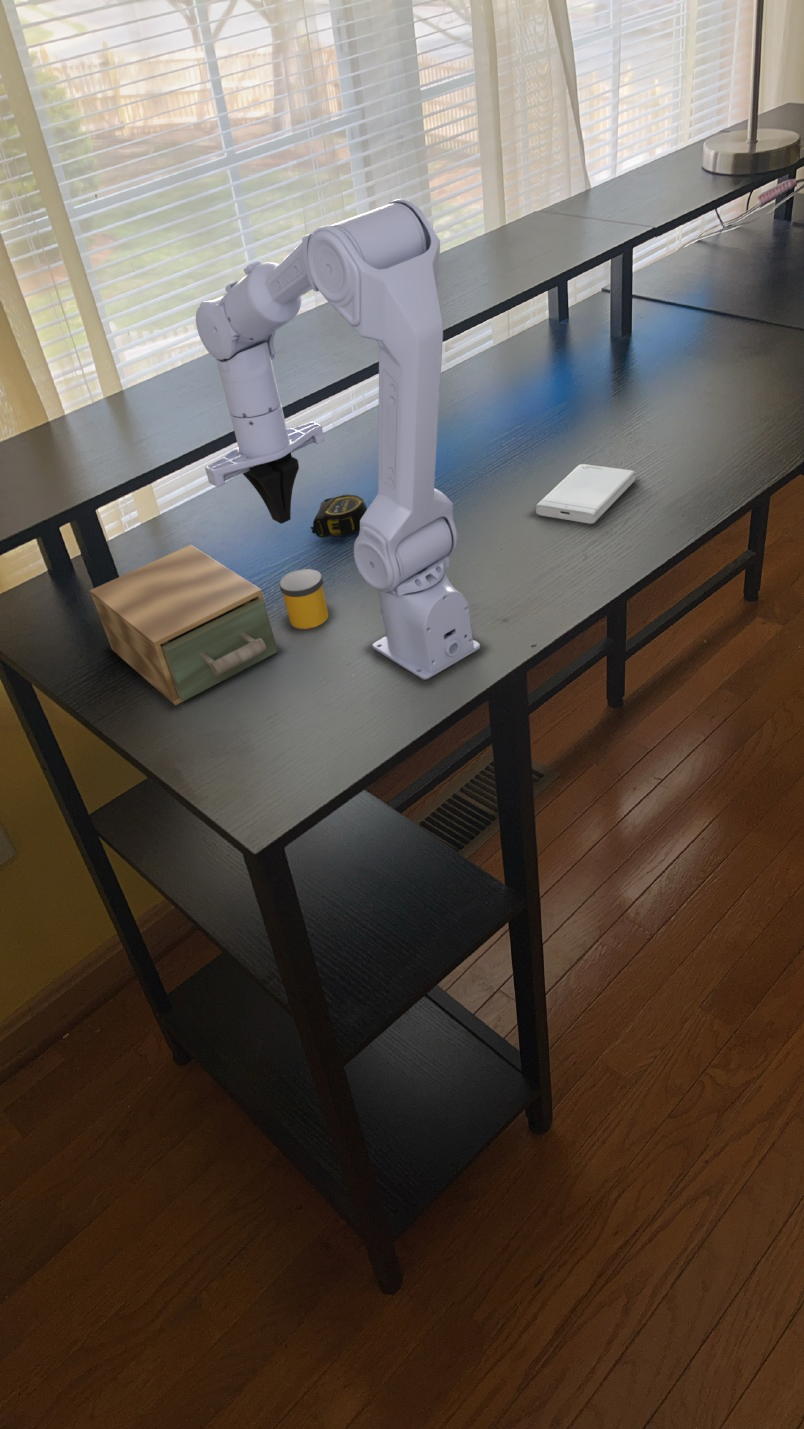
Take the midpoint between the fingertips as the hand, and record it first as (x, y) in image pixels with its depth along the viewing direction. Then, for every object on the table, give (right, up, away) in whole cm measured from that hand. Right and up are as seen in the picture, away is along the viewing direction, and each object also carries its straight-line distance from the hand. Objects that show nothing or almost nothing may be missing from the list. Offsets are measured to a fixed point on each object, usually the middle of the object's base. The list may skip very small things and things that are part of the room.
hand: (281, 519), depth 121 cm
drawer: (-8, -17, -5) cm, 19 cm away
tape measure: (+6, +1, +16) cm, 17 cm away
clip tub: (+3, -12, 0) cm, 12 cm away
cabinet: (-10, -16, -2) cm, 19 cm away
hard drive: (+38, +5, +14) cm, 41 cm away
